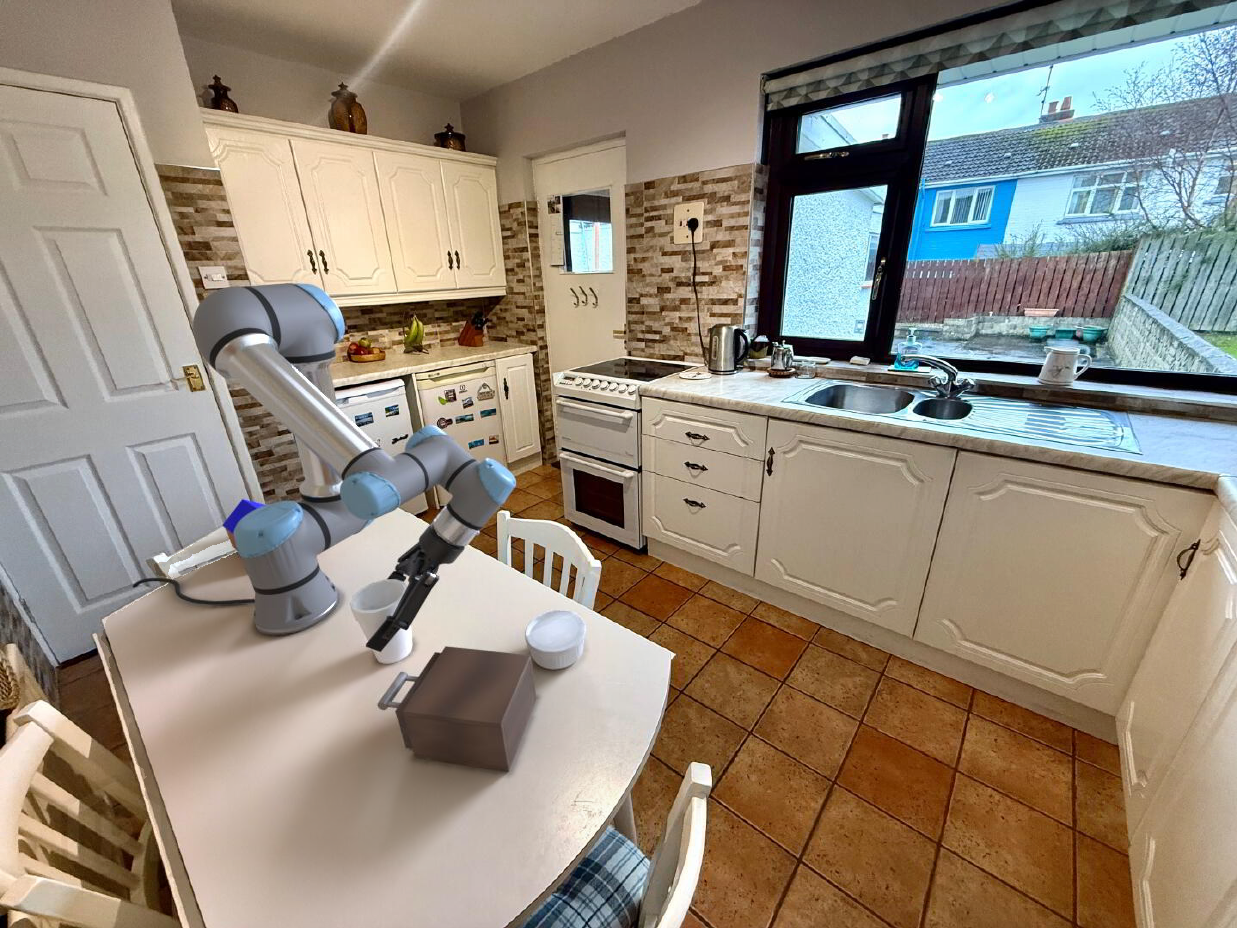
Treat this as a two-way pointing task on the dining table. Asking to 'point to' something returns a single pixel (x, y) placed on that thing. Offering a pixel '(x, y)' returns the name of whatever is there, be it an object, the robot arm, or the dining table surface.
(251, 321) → the robot arm
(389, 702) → the drawer
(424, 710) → the cabinet
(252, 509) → the house
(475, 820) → the dining table surface
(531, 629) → the ramekin
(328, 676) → the dining table surface
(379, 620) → the foam cup
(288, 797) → the dining table surface
